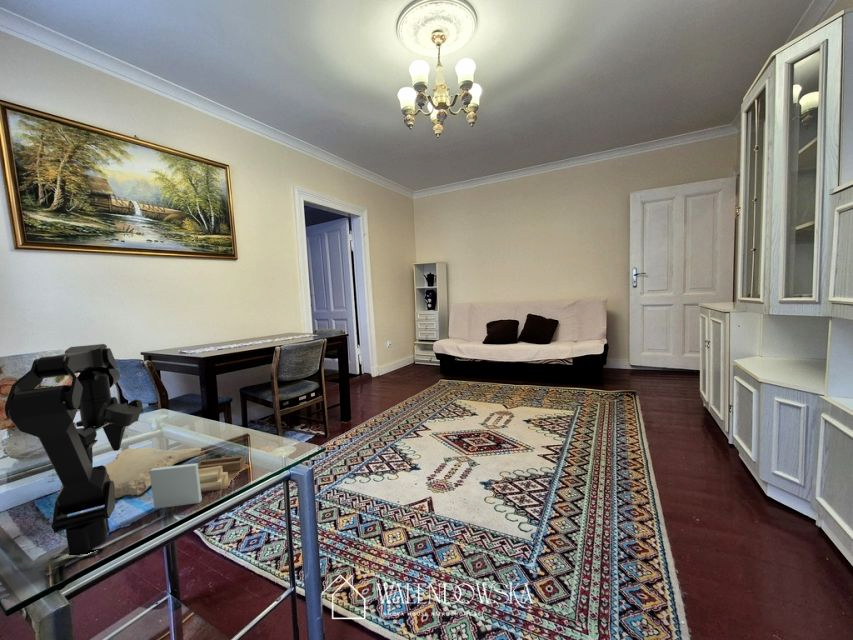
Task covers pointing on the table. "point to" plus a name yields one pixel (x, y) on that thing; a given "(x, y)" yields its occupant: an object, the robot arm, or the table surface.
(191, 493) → the panel
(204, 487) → the offcut lower
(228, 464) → the rack
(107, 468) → the tan curved tapered piece
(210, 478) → the offcut upper
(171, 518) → the table surface
